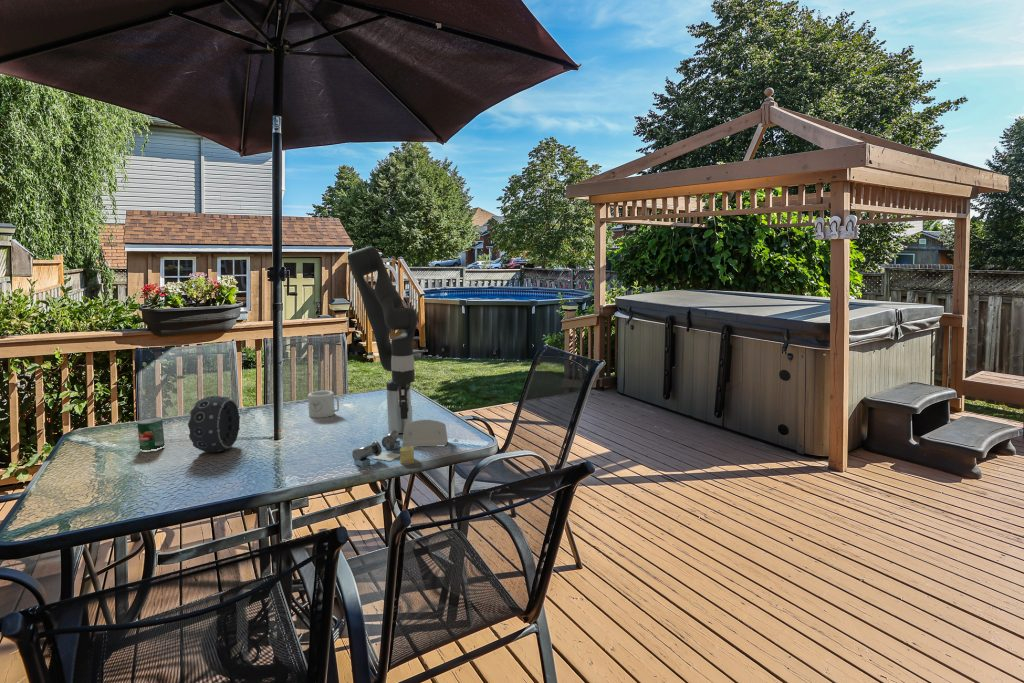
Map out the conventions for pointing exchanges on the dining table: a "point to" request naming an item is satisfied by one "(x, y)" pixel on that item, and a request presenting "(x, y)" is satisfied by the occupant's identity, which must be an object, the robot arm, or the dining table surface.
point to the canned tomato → (150, 433)
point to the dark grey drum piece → (214, 423)
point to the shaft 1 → (366, 454)
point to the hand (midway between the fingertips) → (404, 415)
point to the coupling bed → (386, 456)
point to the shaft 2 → (391, 440)
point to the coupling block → (407, 454)
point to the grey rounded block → (424, 433)
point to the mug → (322, 404)
